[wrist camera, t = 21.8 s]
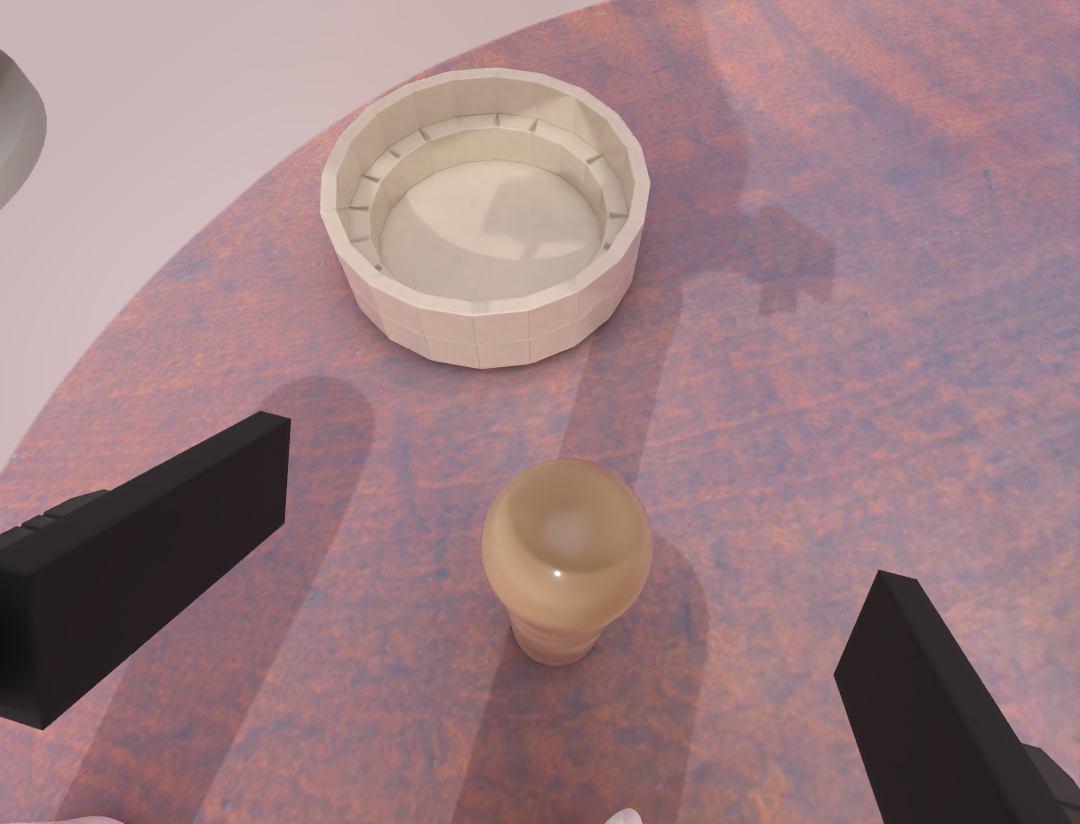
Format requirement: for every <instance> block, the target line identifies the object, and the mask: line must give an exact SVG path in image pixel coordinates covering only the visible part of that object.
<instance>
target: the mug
mask: <svg viewBox="0 0 1080 824" xmlns="http://www.w3.org/2000/svg"><path fill="white" fill-rule="evenodd" d="M605 824H642V821H641V818H640V816H639V815H638V813H637V812H636V811H635V810H633V809H630V808H627V809H623V810H621V811H619V812H617V813H616V814H615V815H613V816H612V817H611V818H610V819H609V820H608V821H607V822H606V823H605Z"/></svg>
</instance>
